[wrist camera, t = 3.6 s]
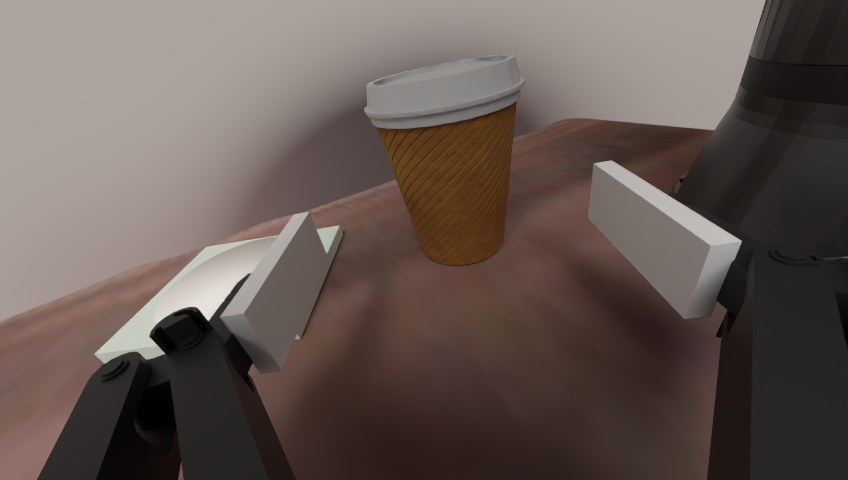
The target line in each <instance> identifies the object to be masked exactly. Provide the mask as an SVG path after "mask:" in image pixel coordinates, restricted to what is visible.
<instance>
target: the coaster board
mask: <svg viewBox="0 0 848 480" xmlns="http://www.w3.org/2000/svg"><path fill="white" fill-rule="evenodd" d="M317 232H318V234H319V237H320V239H321V241H322V244H323V246H324V249H325V251H326V253H327V256H328V258H329V259H328V261H327V264H326V266H325V268H324V271H323V273H322V276H321V278H320V280H319V283H318V285H317V288H316V290H315V292H314V295H313V297H312V300H311V302H310V304H309V307H308V309H307V312H306V314H305V316H304V319H303V321H302V323H301V326H300V328H299V331H298V333H297V335H296V338H295V340H299V339H301V337H302V334H303V332H304V329H305V327H306V324H307V322H308V320H309V317H310V315H311V312H312V310H313V307H314V305H315V302H316V300H317V298H318V295H319V293H320V290H321V288H322V285H323V283H324V280H325V278H326V276H327V273H328V271H329V268H330V266H331V263H332V261H333V258H334V256H335V254H336V251H337V249H338V246H339V244H340V241H341V239H342V237H343V233H342V230H341V227H340V225H339V226H333V227H327V228H321V229H317ZM278 236H279V235H277V236H271V237H265V238H259V239H253V240H247V241H240V242H234V243H228V244H222V245H216V246H209V247H206V248H205V249H204V250H203V251H202V252H201V253H200V254H199V255H198V256H197V257H195V258H194V259H193V260H192V261H191V262H190V263H189V264H188V265H187V266H186V267H185V268H184V269H183V270H182V271H181V272H180V273H179V274H178V275H177V276H176V277H175V278H173V279H172V280H171V281H170V282H169V283H168V284H167V285H166V286H165V287H164V288H163V289H162V290H161V291H160V292H159V293H158V294H157V295H156V296H155V297H154V298H153V299H151V300H150V301H149V302H148V303H147V304H146V305H145V306H144V307H143V308H142V309H141V310H140V311H139V312H138V313H137V314H136V315H135V316H134V317H133V318H132V319H131V320H129V321H128V322H127V323H126V324H125V325H124V326H123V327H122V328H121V329H120V330H119V331H118V332H117V333H116V334H115V335H114V336H113V337H112V338H111V339H110V340H109V341H107V342H106V343H105V344H104V345H103V346H102V347H101V348H100V349H99V350H98V351H97V352H96V353H95V354H94V355H96V356H97V357H98V358H99V359H100V360H101V361H102V362H103V363H107V362H108V361H109V360H111V359H113V358H116V357H118V356H120V355H122V354H125V353H128V352H138V353H140V354H141V355H142V356H143V357H144V358H145V359H151V358H155V357H158V356H161V355H163V354H165V353H164V352H163V351H162V350H161V349H160V348H159V347H158V346H157V344H156V343H155V342H154V341H153V340H152V339H151V338H150V337H149V335H150V332H151V330H152V329H153V328H154V326H155V325H156V324H157V323H159V322H160V321H161V320H162V319H163V318H165V317H167V316H168V315H170V314H172V313H173V312H176V311H178V310H180V309H183V308H187V307H197V308H198V309H199V310H200V311H201V312H202V314H203V315H204V316H205V318H206V319H207V320H208V321H209V320H210V318H211V317H212V316H213V314H214V313H215V312H216V310H217V309H218V308H219V306H220V305H221V304H222V302H225V298H226V297H227V296H228V294H230V292H231V290H232V289H233V288H234V286H235V285H236V284H237V282H239V281H240V280H241V279H242V278H244V277H245V276H246V275H247V274H249V273H252V272H253V270H254V269H255V268H256V266H257V265H258V264H259V262H260V261H261V259H262V258H263V257H264V255H265V254H266V252H267V251H268V250H269V248H270V247H271V246H272V244H273V243H274V241H275V240H276V239H277V237H278Z"/></svg>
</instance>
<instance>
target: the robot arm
mask: <svg viewBox="0 0 848 480" xmlns="http://www.w3.org/2000/svg"><path fill="white" fill-rule="evenodd" d="M588 219H589V220H590V221H591V222H592V223H593V224H594V225H595V226H596V227H597V228H598V229H599V230H600V231H601V232H602V233H603V234H604V236H605V237H606V238H607V239H608V240H609V241H610V242H611V243H612V244H613V245H614V246H615V247H616V248H617V249H618V250H619V251H620V252H621V253H622V254H623V255H624V256H625V258H626V259H627V260H628V261H629V262H630V263H631V264H632V265H633V266H634V267H635V268H636V269H637V270H638V271H639V272H640V273H641V274H642V275H643V276H644V277H645V279H646V280H647V281H648V282H649V283H650V284H651V285H652V286H653V287H654V288H655V289H656V290H657V291H658V292H659V293H660V294H661V295H662V296H663V297H664V298H665V299H666V301H667V302H668V303H669V304H670V305H671V306H672V307H673V308H674V309H675V310H676V311H677V312H678V313H679V314H680V315H681V316H682V317H683V318H684V319H691V318H698V317H706V316H711V314H712V312H713V309H714V307H715V304H716V302H717V301H718V302H719V303H720V304H721V305H723V306H724V307H725V308H726V309H727V312H726V315H725V317H724V319H723V321H722V323H721V326H720V328H719V330H718V332H717V334H716V337H719V338H721V336H722V339H721V349H720V359H719V368H718V378H717V388H716V398H715V407H714V417H713V427H712V437H711V446H710V456H709V466H708V476H707V480H848V0H766V2H765V6H764V9H763V12H762V15H761V18H760V22H759V25H758V28H757V31H756V34H755V37H754V41H753V44H752V47H751V50H750V54H749V57H748V61H747V64H746V67H745V70H744V73H743V76H742V79H741V83H740V85H739V88H738V91H737V94H736V97H735V99H734V101H733V103H732V105H731V107H730V108H729V110H728V111H727V113H726V114H725V116H724V117H723V119H722V120H721V122H720V123H719V125H718V126H717V128H716V129H715V131H714V132H713V134H712V135H711V137H710V138H709V140H708V141H707V143H706V144H705V146H704V147H703V149H702V150H701V152H700V154H699V155H698V157H697V158H696V160H695V162H694V163H693V165H692V166H691V168H690V170H689V171H688V172H686V173H685V174H684V175H682V176H681V178H680V179H679V180H678V181H677V183H676V184H675V185H674V187H673V189H672V191H671V193H670V196H668V195H667V194H665V193H663V192H662V191H660V190H659V189H657V188H655V187H654V186H652V185H651V184H649V183H647V182H646V181H644V180H642V179H641V178H639V177H638V176H636V175H634V174H633V173H631V172H630V171H628V170H626V169H625V168H623V167H621V166H620V165H618V164H617V163H615V162H613V161H612V160H611V161H605V162H599V163H594V164H593V174H592V183H591V192H590V201H589V210H588ZM328 259H329V258H328V256H327V253H326V251H325V249H324V246H323V244H322V241H321V239H320V237H319V234H318V232H317V229H316V227H315V225H314V222H313V220H312V217H311V215H310V213H309V212H306V213H300V214H295V215H293V217H292V218H291V219H290V221H289V222H288V223H287V225H286V226H285V228H284V229H283V230H282V232H281V233H280V235H279V236H278V237H277V239H276V240H275V241H274V243H273V244H272V246H271V247H270V248H269V250H268V251H267V252H266V254H265V255H264V257H263V258H262V259H261V261H260V262H259V264H258V265H257V266H256V268H255V269H254V270H253V272H252V273H249V274H247V275H246V276H245V277H244V278H242V279H241V280H240V281H239V282H237V284H236V285H235V286H234V288H233V289H232V290H231V292H230V294H228V296H227V297H226V298H225V302H222V304H221V305H220V306H219V308H218V309H217V310H216V312H215V313H214V314H213V316H212V317H211V318H210V320H209V321H208V320H207V319H206V318H205V316H204V315H203V314H202V312H201V311H200V310H199V309H198V308H197V307H187V308H183V309H180V310H178V311H176V312H173V313H172V314H170V315H168V316H167V317H165V318H163V319H162V320H161V321H160V322H159V323H157V324H156V325H155V326H154V328H153V329H152V330H151V332H150V335H149V337H150V338H151V339H152V340H153V341H154V342H155V343H156V344H157V346H158V347H159V348H160V349H161V350H162V351H163V352H164V353H165V354H163V355H161V356H158V357H155V358H152V359H150V360H146V359H145V358H144V357H143V356H142V355H141V354H140V353H138V352H128V353H125V354H122V355H120V356H118V357H116V358H113V359H111V360H109V361H108V362H107V363H105V364H104V365H102V366H101V367H100V368H99V369H98V370H97V371H96V372H95V373H94V374H93V375H92V376H91V378H90V379H89V381H88V382H87V384H86V386H85V388H84V390H83V392H82V394H81V396H80V397H79V399H78V401H77V403H76V405H75V407H74V409H73V411H72V413H71V415H70V417H69V419H68V421H67V423H66V425H65V426H64V428H63V430H62V432H61V434H60V436H59V438H58V440H57V442H56V444H55V446H54V448H53V450H52V452H51V454H50V456H49V457H48V459H47V461H46V463H45V465H44V467H43V469H42V471H41V473H40V475H39V477H38V479H37V480H178V477H179V471H180V465H181V463H182V470H183V477H184V480H296V478H295V476H294V474H293V472H292V469H291V467H290V465H289V462H288V460H287V458H286V455H285V453H284V451H283V449H282V446H281V444H280V442H279V439H278V437H277V435H276V433H275V430H274V428H273V426H272V423H271V421H270V419H269V416H268V414H267V412H266V410H265V407H264V405H263V403H262V400H261V398H260V396H259V393H258V391H257V389H256V387H255V384H254V382H253V380H252V378H251V377H250V375H249V374H248V371H249V369H250V367H251V365H252V363H253V364H254V365H255V366H256V368H257V369H258V371H259V372H260V373H269V372H277V371H282V369H283V367H284V364H285V362H286V359H287V357H288V355H289V352H290V350H291V347H292V345H293V343H294V340H295V338H296V335H297V333H298V331H299V328H300V326H301V323H302V321H303V319H304V316H305V314H306V312H307V309H308V307H309V304H310V302H311V300H312V297H313V295H314V292H315V290H316V288H317V285H318V283H319V280H320V278H321V276H322V273H323V271H324V268H325V266H326V264H327V261H328Z"/></svg>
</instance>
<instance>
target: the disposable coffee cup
mask: <svg viewBox="0 0 848 480" xmlns="http://www.w3.org/2000/svg"><path fill="white" fill-rule="evenodd" d="M524 84H525V80H524V78H523V77H520V75H519V71H518V67H517V63H516V59H515V55H512V54H510V55H493V56H485V57H477V58H471V59H465V60H459V61H453V62H448V63H443V64H438V65H433V66H428V67H424V68H419V69H415V70H410V71H406V72H402V73H398V74H394V75H391V76H387V77H384V78H380V79H377V80H375V81H372V82H370V83H368V84H367V106H366V107H365V109H364V110H365V113H366V115H367V116H369V117H370V118H371V121H372V124H373V125H375V126H376V127H377V129H378V132H379V134H380V137H381V139H382V142H383V145H384V147H385V150H386V153H387V155H388V158H389V161H390V164H391V166H392V169H393V172H394V174H395V177H396V180H397V182H398V185H399V188H400V190H401V193H402V196H403V198H404V201H405V204H406V206H407V209H408V212H409V214H410V217H411V220H412V222H413V225H414V228H415V230H416V233H417V236H418V238H419V241H420V244H421V246H422V249H423V252H424V253H425V255H426V256H427V257H428V258H430V259H431V260H433V261H435V262H438V263H441V264H446V265H466V264H472V263H476V262H479V261H482V260H484V259H486V258H488V257H490V256H492V255H493V254H495V253H496V252H497V251H498V250H499V249H500V247H501V246H502V244H503V238H504V227H505V217H506V206H507V196H508V185H509V175H510V164H511V153H512V143H513V133H514V121H515V111H516V101H517V100H518V99H519V98H520V89H521V88H522V87H523V86H524Z"/></svg>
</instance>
